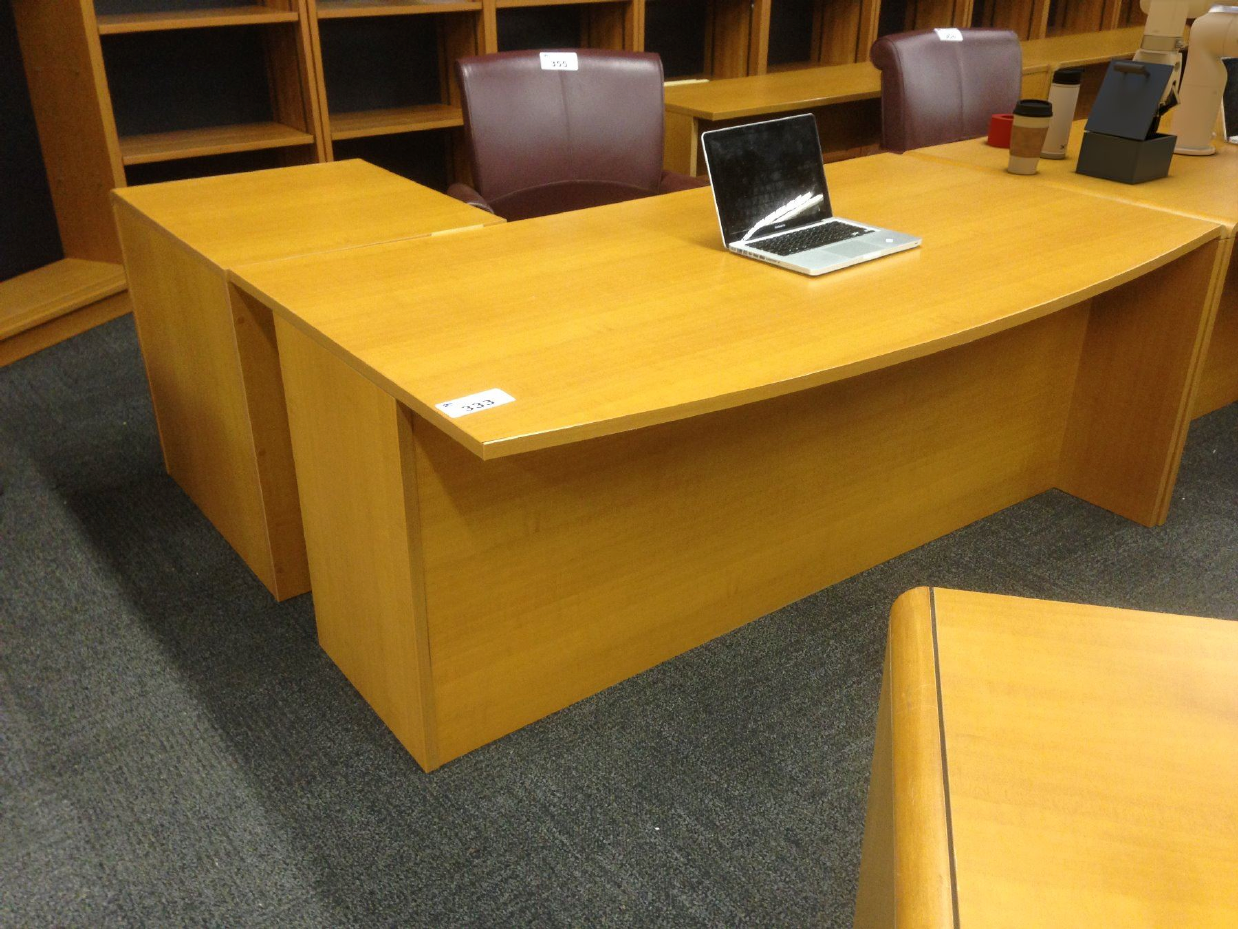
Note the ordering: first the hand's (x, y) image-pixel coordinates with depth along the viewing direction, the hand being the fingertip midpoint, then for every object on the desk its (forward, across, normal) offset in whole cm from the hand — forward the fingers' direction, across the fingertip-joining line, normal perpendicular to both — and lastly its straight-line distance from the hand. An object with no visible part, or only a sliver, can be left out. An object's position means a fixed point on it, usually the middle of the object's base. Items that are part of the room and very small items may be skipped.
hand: (1139, 132), depth 232 cm
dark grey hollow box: (+9, 0, +3) cm, 9 cm away
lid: (-7, 0, +8) cm, 11 cm away
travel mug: (+9, +20, -1) cm, 22 cm away
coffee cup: (+9, +14, +20) cm, 26 cm away
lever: (+9, +31, -6) cm, 33 cm away
